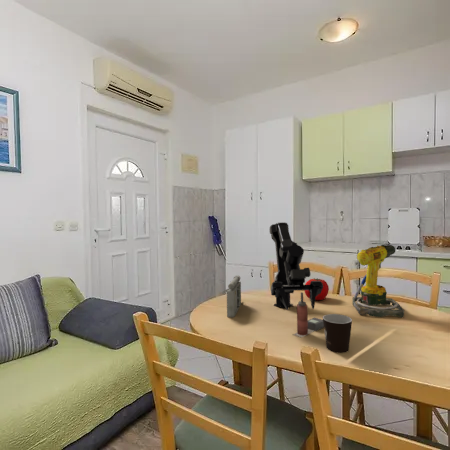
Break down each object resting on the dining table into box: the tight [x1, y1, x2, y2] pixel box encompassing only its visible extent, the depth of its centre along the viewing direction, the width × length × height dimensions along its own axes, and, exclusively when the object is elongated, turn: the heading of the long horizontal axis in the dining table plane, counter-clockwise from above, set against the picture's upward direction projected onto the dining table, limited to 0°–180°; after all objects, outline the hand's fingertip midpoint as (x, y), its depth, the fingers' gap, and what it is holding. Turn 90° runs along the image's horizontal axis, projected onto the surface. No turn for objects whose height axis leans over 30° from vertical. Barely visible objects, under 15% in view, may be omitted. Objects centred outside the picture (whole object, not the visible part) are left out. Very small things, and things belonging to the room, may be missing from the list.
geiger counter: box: [221, 274, 242, 318], centre depth 143 cm, size 14×6×25 cm
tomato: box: [304, 277, 330, 301], centre depth 154 cm, size 12×12×10 cm
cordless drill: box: [351, 244, 405, 318], centre depth 135 cm, size 18×19×28 cm
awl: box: [296, 292, 309, 336], centre depth 110 cm, size 4×4×14 cm
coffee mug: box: [322, 313, 353, 354], centre depth 99 cm, size 12×9×10 cm
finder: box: [308, 317, 324, 332], centre depth 115 cm, size 6×4×3 cm
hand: (300, 308), depth 112 cm, fingers open, 9 cm apart
